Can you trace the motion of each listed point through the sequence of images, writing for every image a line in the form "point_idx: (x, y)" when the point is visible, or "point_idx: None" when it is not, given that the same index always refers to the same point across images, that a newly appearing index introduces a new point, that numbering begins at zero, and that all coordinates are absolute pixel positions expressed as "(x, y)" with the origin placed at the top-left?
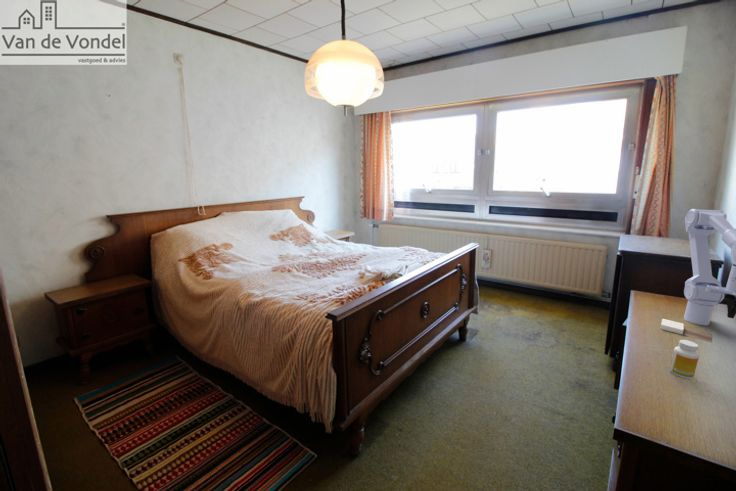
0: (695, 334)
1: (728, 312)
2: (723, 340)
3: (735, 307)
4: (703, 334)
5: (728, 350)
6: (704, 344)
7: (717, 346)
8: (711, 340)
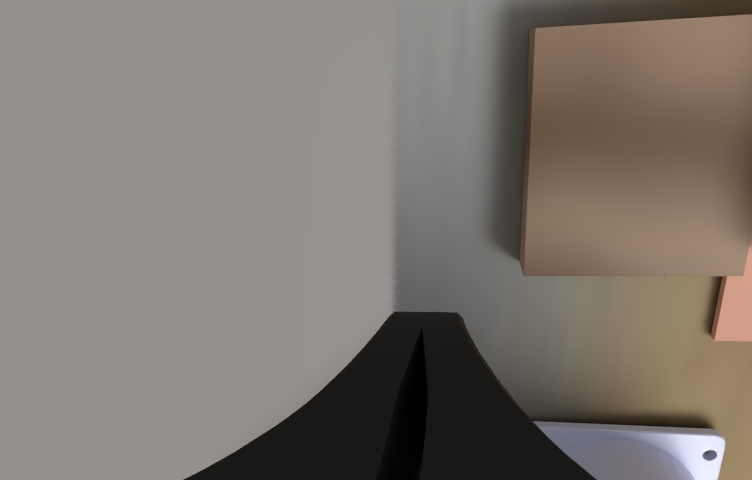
0: (670, 143)
1: (473, 350)
2: (431, 267)
3: (375, 429)
4: (592, 211)
5: (400, 32)
6: (586, 9)
7: (480, 60)
8: (538, 85)
